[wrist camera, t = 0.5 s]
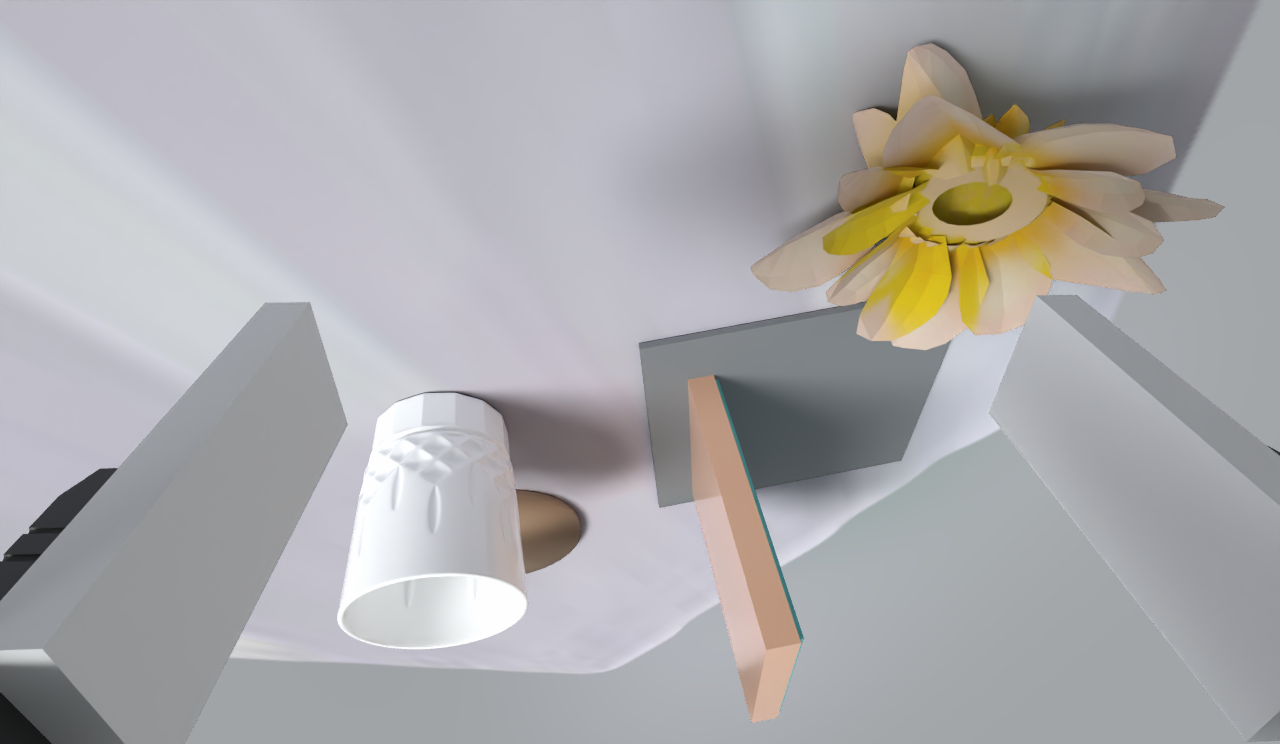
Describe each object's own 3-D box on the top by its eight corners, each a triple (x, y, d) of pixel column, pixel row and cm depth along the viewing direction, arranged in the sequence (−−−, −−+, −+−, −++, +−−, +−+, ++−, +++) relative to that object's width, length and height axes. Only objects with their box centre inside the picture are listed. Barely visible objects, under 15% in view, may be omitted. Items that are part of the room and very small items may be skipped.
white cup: (497, 477, 39) (503, 647, 32) (355, 466, 36) (330, 652, 29) (534, 393, 34) (550, 576, 27) (372, 372, 31) (346, 572, 24)
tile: (687, 379, 34) (766, 650, 25) (717, 374, 34) (806, 641, 25) (692, 493, 44) (751, 722, 34) (716, 489, 44) (780, 716, 35)
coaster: (385, 510, 39) (384, 519, 39) (565, 475, 40) (566, 484, 40) (442, 582, 48) (442, 590, 47) (590, 553, 48) (591, 560, 48)
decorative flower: (675, 207, 24) (831, 372, 18) (904, -63, 21) (1202, 10, 14) (852, 350, 35) (994, 490, 28) (1025, 181, 31) (1234, 292, 25)
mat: (638, 343, 32) (640, 349, 32) (968, 283, 33) (972, 288, 33) (658, 502, 44) (659, 507, 44) (898, 455, 45) (901, 460, 45)
